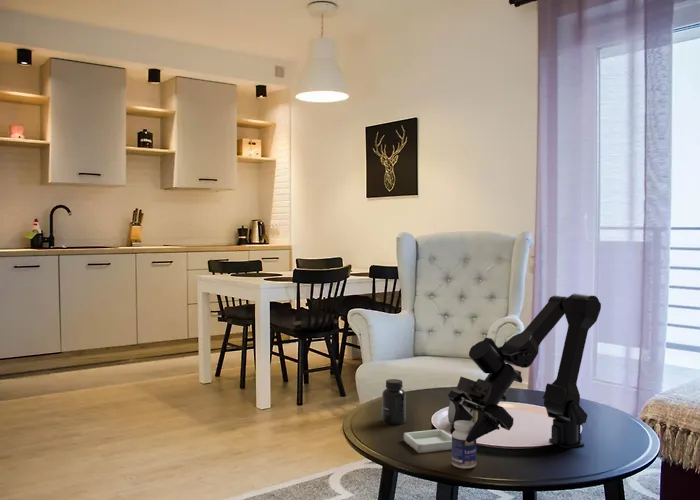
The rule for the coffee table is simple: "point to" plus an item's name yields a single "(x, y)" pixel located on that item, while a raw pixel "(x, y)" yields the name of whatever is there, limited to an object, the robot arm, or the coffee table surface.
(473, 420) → the ceramic mug
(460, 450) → the pill bottle
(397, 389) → the supplement bottle
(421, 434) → the tray
